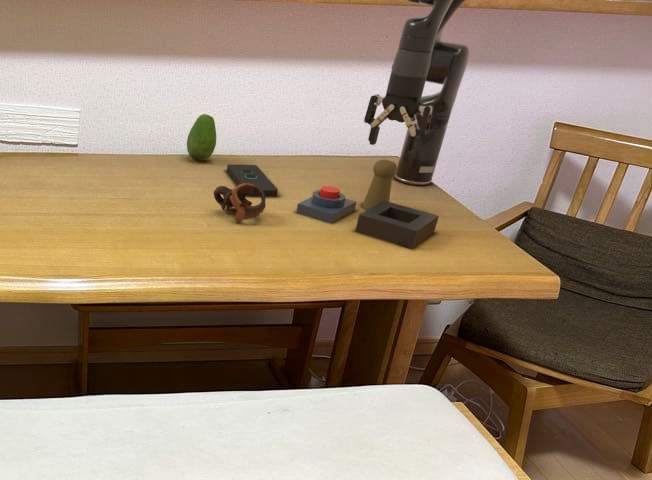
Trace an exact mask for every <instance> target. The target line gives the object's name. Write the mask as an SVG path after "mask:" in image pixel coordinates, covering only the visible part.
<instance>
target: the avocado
mask: <svg viewBox="0 0 652 480" xmlns="http://www.w3.org/2000/svg"><path fill="white" fill-rule="evenodd" d="M216 146H217V129H216V122H215V118H214V117H213V116H212V115H210V114H207V113H204V114H200V115H199V116H198V117H197V118H196V119H195V121H194V123H193V125H192V127H191V128H190V131H189V132H188V135H187V139H186V150H187V153H188V155H189V157H190V158H192V159H193V160H195V161H199V162H203V161H206V160H208V159H210V158H211V156H212V155H213V154H214V151H215V149H216Z"/></svg>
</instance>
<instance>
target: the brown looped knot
mask: <svg viewBox="0 0 652 480" xmlns="http://www.w3.org/2000/svg"><path fill="white" fill-rule="evenodd" d="M253 191H255V192H257V194H258V196H259V197H258V198H260V200H261V202H260V203H258V204H256V205H253V202H252V201H251V200H249V199H248V198H246V197H247V196H246V195H247V194H248V193H252V192H253ZM213 197H214V200H215V201H216V203H217V204H218V205H219V206H220V208H221V210H222V211H228V210H230V209H232V208H234V209H235V210H236V214H235V215H234V216H233V220H234V221H235V222H237V223H238V224H239V223H242V222H243V221H244V220H250V219H253V218H256V217H259V216H260V215H261V214H262V213H264V210H265V208H266V206H267V205H266V198H267V197H265V194H264V192H263V191H262V190H261V189H260V188H259V187H258V186H255V185H253V184H249V183H243V184H240V185H238V186H237V185H236V187H233V188H229V187H227V186H225V185H219V186H217V187H216V188H215V190H214V191H213ZM225 209H226V210H225Z"/></svg>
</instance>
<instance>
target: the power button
mask: <svg viewBox="0 0 652 480" xmlns="http://www.w3.org/2000/svg"><path fill="white" fill-rule="evenodd" d="M319 190H320V194H319V195H320V196H321V197H324V198H330V199H337V198H339V194H340V193H341V189H340V188H338V187H336V186H332V185H323V186H321V187H320V189H319Z"/></svg>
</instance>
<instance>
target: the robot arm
mask: <svg viewBox="0 0 652 480" xmlns="http://www.w3.org/2000/svg"><path fill="white" fill-rule="evenodd" d="M406 1H407V2H408V3H409V4H410V3H411V4H415V5H421V6H422V5H423V6H431V11H430V12H429V13H428V14H427V15H423V16H413V17H409V18H407V19H406V20H405V22H404V24H403V27H402V31H401V36H400V39H399V44H398V47H397V51H396V53H395V56H394V59H393V63H392V65H391V72H390V76H389V78H388V83H387V87H386V93H385V95H384V96H381V95H380V94H377V93H376V94H374V95H371V96H370V97H369V98H370V99H369V102H368V105H367V109H366V111H365V116H364V118H363V122H364V123H365V124H368V125H370V131H369V134H368V142H369V145H371V146H374V145H376V144H377V141H378V137H379V134H380V129H381V126H380V125H382V124H383V123H384V122H385V121H386V120H387V119H388V121H396V122H398V123H404V124H405V127H406V128H407V129H406V133H405V138H404V140H403V144H402V148H401V152H400V156H399V160H398V163H397V170H396V173H395V175H394V179H395V180H396V181H399V182H400V183H403V184H408V185H411V186H412V185H413V186H428V185H430V184H432V181H433V176H434V174H435V170H436V166H437V163H438V159H439V156H440V153H441V150H442V146H443V143H444V139H445V135H446V131H447V128H448V125H449V121H450V118H451V115H452V110H453V108H454V106H455V102H456V99H457V96H458V92H459V89H460V87H461V84H462V81H463V78H464V75H465V72H466V70H467V66H468V63H469V58H470V48H469V46H467V45H465V44H461V43H456V42H449V41H443V40H442V36H443V33H444V30H445V28H446V26H447V24H448V22H449V21H450V20H451V18H452V17H453V16H454V14H455V13H456V12H457V11H458V9H459V8H461V6H462V5H463V4H464V3H465V2H466V1H467V0H406ZM426 83H432V84H437V85H442V88H441V90H440V91H439V92H437V93H434V94H429V95H423V93H424V88H425V85H426ZM381 104H382V107H383V109H384V110H383V111H382V112H381V113H379V115H378V116H377V117H376V118H375V115H376V113H377V108H378V107H379V106H380V105H381Z"/></svg>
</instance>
